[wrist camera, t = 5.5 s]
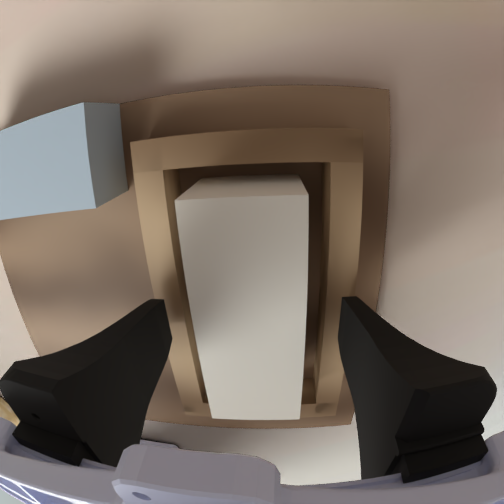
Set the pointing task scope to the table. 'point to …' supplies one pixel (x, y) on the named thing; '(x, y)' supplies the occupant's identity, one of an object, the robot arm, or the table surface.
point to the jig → (167, 237)
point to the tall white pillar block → (248, 290)
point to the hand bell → (8, 412)
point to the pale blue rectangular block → (62, 161)
